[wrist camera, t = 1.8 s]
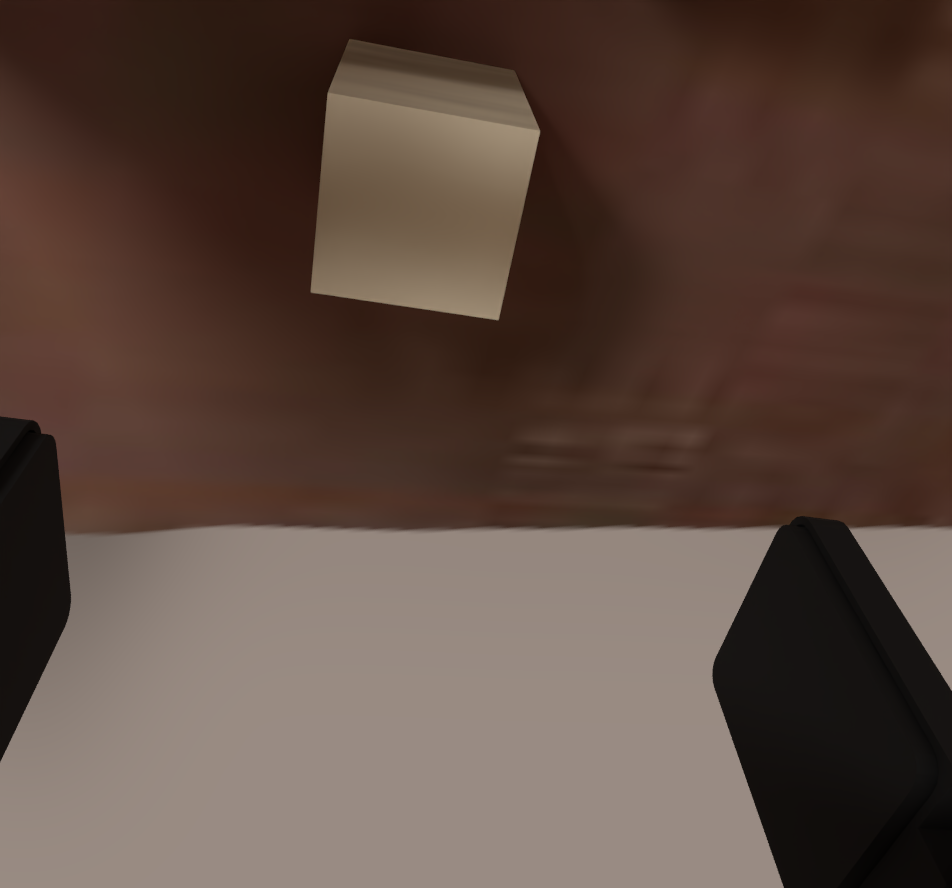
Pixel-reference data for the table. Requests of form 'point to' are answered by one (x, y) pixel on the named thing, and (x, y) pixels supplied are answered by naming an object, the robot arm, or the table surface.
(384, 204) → the beech block
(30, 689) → the robot arm
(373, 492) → the table surface
